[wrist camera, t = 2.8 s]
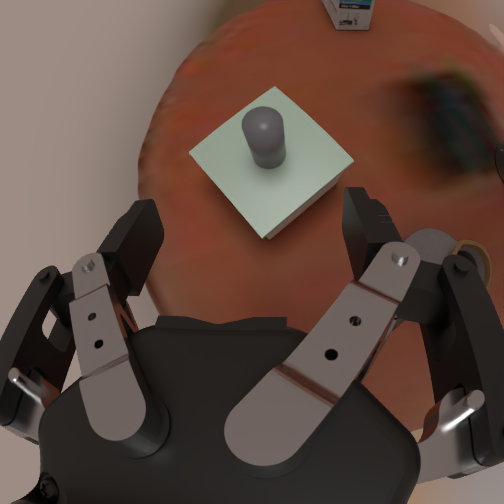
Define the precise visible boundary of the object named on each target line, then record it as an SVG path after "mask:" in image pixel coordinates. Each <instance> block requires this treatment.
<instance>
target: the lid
mask: <svg viewBox="0 0 504 504" xmlns="http://www.w3.org/2000/svg"><path fill="white" fill-rule="evenodd" d="M189 154H190V155H191V156H192V157H193V158H194V159H195V161H196V162H197V163H198V164H199V165H200V166H201V168H202V169H203V170H204V171H205V172H206V173H207V174H208V176H209V177H210V178H211V179H212V180H213V181H214V183H215V184H216V185H217V186H218V187H219V188H220V190H221V191H222V192H223V193H224V194H225V195H226V197H227V198H228V199H229V200H230V201H231V202H232V204H233V205H234V206H235V207H236V208H237V210H238V211H239V212H240V213H241V214H242V215H243V217H244V218H245V219H246V220H247V221H248V222H249V224H250V225H251V226H252V227H253V228H254V230H255V231H256V232H257V233H258V234H259V235H260V237H261V238H262V239H264V238H265V237H266V236H267V235H268V234H270V233H271V232H272V231H273V230H274V229H276V228H277V227H278V226H279V225H280V224H282V223H283V222H284V221H285V220H286V219H287V218H289V217H290V216H291V215H292V214H293V213H295V212H296V211H297V210H298V209H299V208H301V207H302V206H303V205H304V204H305V203H306V202H308V201H309V200H310V199H311V198H312V197H314V196H315V195H316V194H317V193H318V192H320V191H321V190H322V189H323V188H324V187H325V186H327V185H328V184H329V183H330V182H331V181H333V180H334V179H335V178H336V177H337V176H339V175H340V174H341V173H342V172H343V171H345V170H346V169H347V168H348V167H349V166H351V165H352V164H353V162H354V160H353V159H352V158H351V157H350V156H349V155H348V154H347V153H346V152H345V151H344V150H343V149H342V148H341V147H340V146H339V145H338V144H337V143H336V142H335V141H334V140H333V139H332V138H331V137H330V136H329V135H328V134H327V133H326V132H325V131H324V130H323V129H322V128H321V127H320V126H319V125H318V124H317V123H316V122H315V121H314V120H313V119H312V118H310V117H309V116H308V115H307V114H306V113H305V112H304V111H303V110H302V109H301V108H299V107H298V106H297V105H296V104H295V103H294V102H293V101H291V100H290V99H289V98H288V97H287V96H286V95H284V94H283V93H282V92H281V91H280V90H279V89H277V88H276V87H275V86H274V87H273V88H272V89H270V90H269V91H267V92H266V93H264V94H263V95H262V96H260V97H259V98H257V99H256V100H255V101H253V102H252V103H250V104H249V105H248V106H246V107H245V108H244V109H242V110H241V111H240V112H238V113H237V114H236V115H234V116H233V117H232V118H230V119H229V120H228V121H227V122H225V123H224V124H223V125H221V126H220V127H219V128H218V129H216V130H215V131H214V132H213V133H211V134H210V135H209V136H208V137H207V138H205V139H204V140H203V141H202V142H200V143H199V144H198V145H197V146H196V147H195V148H193V149H192V150H191V151H190V152H189Z"/></svg>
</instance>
